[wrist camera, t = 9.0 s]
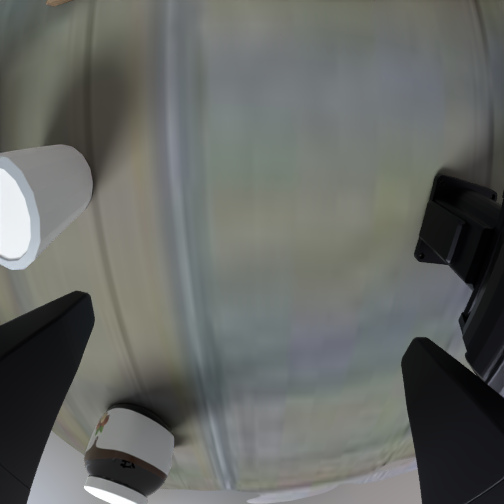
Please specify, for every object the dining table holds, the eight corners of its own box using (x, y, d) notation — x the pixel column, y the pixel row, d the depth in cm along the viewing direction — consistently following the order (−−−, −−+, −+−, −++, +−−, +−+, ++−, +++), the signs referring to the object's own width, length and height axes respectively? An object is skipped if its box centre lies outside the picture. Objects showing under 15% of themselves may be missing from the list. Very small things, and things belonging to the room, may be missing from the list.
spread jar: (139, 392, 28) (108, 486, 17) (208, 440, 32) (198, 522, 21) (87, 411, 31) (58, 481, 21) (148, 452, 35) (132, 517, 24)
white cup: (28, 138, 17) (-38, 159, 10) (100, 133, 17) (32, 150, 10) (35, 223, 20) (-21, 263, 13) (103, 230, 20) (50, 279, 13)
